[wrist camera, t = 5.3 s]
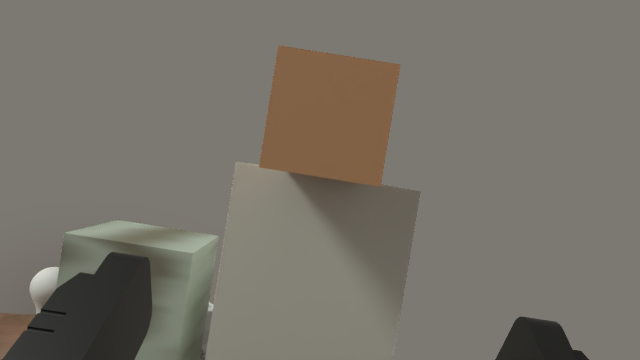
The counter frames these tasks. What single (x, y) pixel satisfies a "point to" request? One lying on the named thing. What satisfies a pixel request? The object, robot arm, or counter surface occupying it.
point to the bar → (329, 116)
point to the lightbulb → (43, 286)
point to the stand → (311, 268)
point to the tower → (155, 279)
